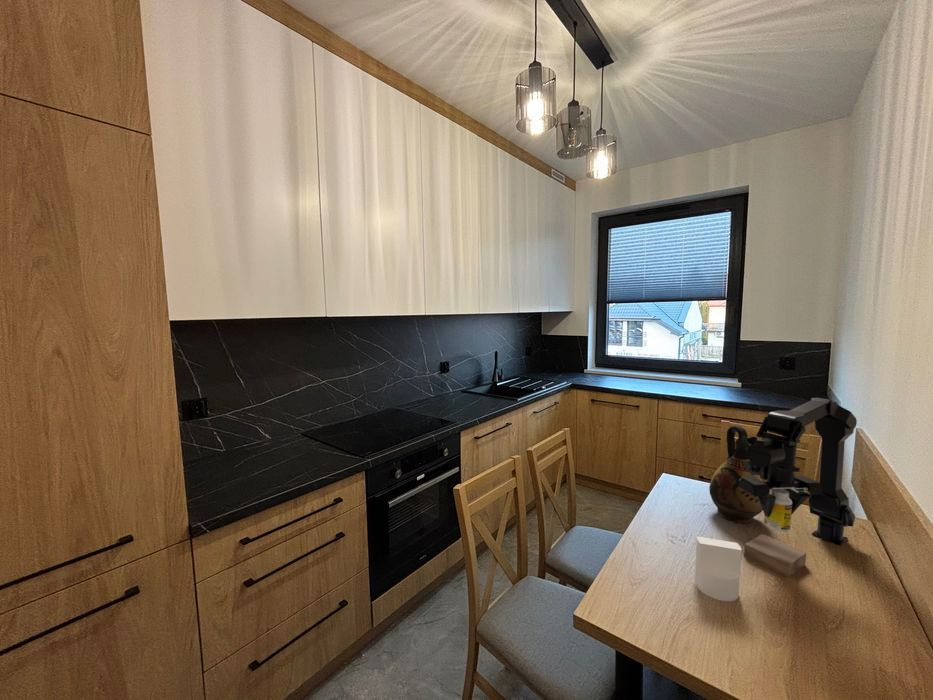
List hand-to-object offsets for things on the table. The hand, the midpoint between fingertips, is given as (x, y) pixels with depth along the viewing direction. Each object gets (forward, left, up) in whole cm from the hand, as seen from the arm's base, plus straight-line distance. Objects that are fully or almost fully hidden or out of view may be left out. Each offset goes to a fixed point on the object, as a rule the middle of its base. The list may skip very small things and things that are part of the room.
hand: (777, 515), depth 102 cm
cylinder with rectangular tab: (+25, -2, -13) cm, 28 cm away
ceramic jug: (-17, -18, -13) cm, 28 cm away
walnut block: (0, 0, -13) cm, 13 cm away
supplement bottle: (0, 0, -3) cm, 3 cm away
